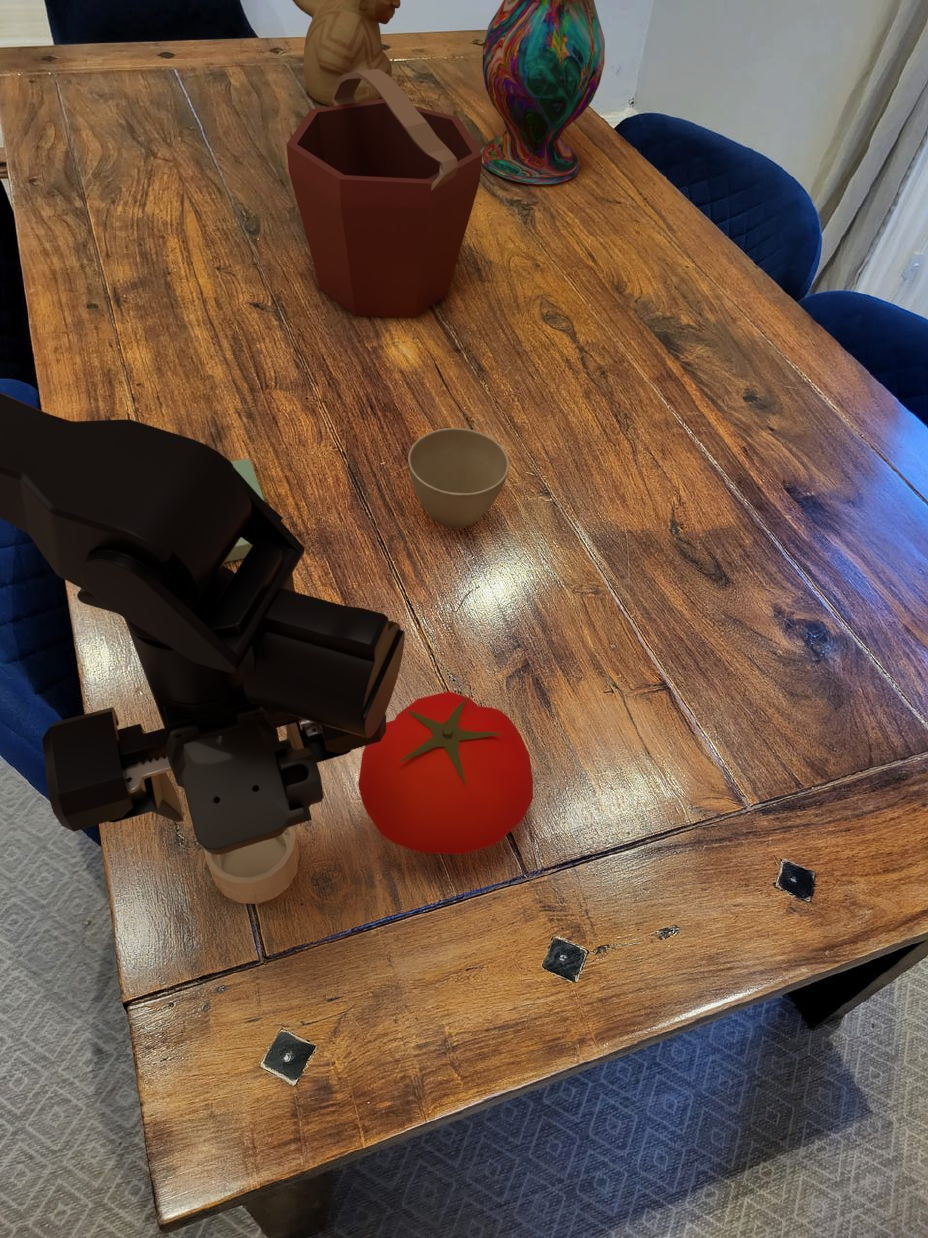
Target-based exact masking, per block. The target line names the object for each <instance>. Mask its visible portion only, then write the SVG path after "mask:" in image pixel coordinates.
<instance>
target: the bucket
mask: <svg viewBox="0 0 928 1238" xmlns="http://www.w3.org/2000/svg"><path fill="white" fill-rule="evenodd" d="M361 80H363V81H364V82H366V83H367V84H369V85H370V86H371V87H372V88H373V89H374V90H375V91H376V92H377V93H378V94H379V95H380V98H379V99H378V100H372V101H365V102H358V103H356V101H355V98H354V94H355V91H356V89H357V87H358V85H359V84H360V82H361ZM332 101H333V104H334V106H325V107H317V108H310V109H309V111H308V112H307V114H306V115H305V117H304V118H303V119H302V121H301V123H300V124H299V126H297V128H296V129H295V131H294V132H293V134H292V136H291V137H290V138H289V139H288V141H287V143H286V156H287V168H288V169H287V170H288V174H289V178H290V181H291V185H292V189H293V192H294V196H295V200H296V203H297V207H298V211H299V214H300V218H301V223H302V226H303V230H304V232H305V237H306V240H307V243H308V244H307V245H308V247H309V251H310V254H311V258H312V262H313V265H314V269H315V273H316V277H317V281H318V284H319V288H320V291H322V292H323V293H324V294H325V295H327V296H329V297H330V298H331V299H332V300H333V301H335V302H336V303H337V304H339V305H340V306H342V307H343V308H345V309H346V310H348V312H350V313H351V314H352V315H353V316H355V317H367V318H368V317H371V318H399V319H400V318H401V319H402V318H404V319H415V318H416V317H417V316H419V315H420V314H422V313H423V312H425V311H426V310H428V309H429V308H430V307H432V306H433V305H435V304H436V303H438V302H439V301H441V300H442V299H443V298H445V297H446V296H448V294H449V292H450V287H451V284H452V280H453V278H454V273H455V270H456V266H457V263H458V260H459V256H460V253H461V249H462V246H463V242H464V239H465V235H466V231H467V228H468V225H469V222H470V217H471V214H472V211H473V207H474V203H475V200H476V196H477V193H478V189H479V186H480V184H481V183H480V182H481V177H482V176H481V175H482V165H483V164H482V153H481V150H480V148H479V147H478V145H477V143H476V142H475V140H474V139H473V137H472V136H471V134H470V132H469V131H468V129H467V128H466V126H465V124H464V123H463V122H462V120H461V119H460V117H459V116H455V115H451V114H447V113H444V112H439V111H435V110H431V109H428V108H424V107H420V106H416V105H414V103H413V102H412V101H411V100H410V98H409V96H408V95H407V94H406V93H405V91H404V90H403V89H402V87H401V86H400V85H399V84H398V83H397V82H396V81H395V80H394V79H393V78H392V76H391V77H390V76H389V75H388V74H386V73H385V72H383V71H382V70H380V69H372V70H365V71H358V72H351V73H346V74H344V75H342V76H340V77H338V79H337V81H336V84H335V86H334V89H333V92H332Z"/></svg>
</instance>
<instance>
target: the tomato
mask: <svg viewBox="0 0 928 1238" xmlns="http://www.w3.org/2000/svg"><path fill="white" fill-rule="evenodd" d="M532 770H533V769H532V764H531V756H530V753H529V751H528V748H527V746H526V743H525V741H524V739H523V737H522V734H521V733H520V731H519V730H518V729H517V726H515V724H514V723H513V722H512V720H511V718H510V717H509V716H507V715H506V714H505V713H504V712H503V711H502V710H501V709H497V708H495V707H488V706H482V705H481V706H480V705H478V704H477V703H476V702H475V701H474V700H473V699H471V698H470V697H468V696H466V695H462V694H459V693H456V692H452V691H450V690H449V691H444V692H441V693H436V694H432V695H428V696H424V697H419V698H416V699H415V700H414V701H413V702H411V704H409V705H407V707H405V708H404V709H403V710H401V711H400V712H399V713H397V714H396V716H395V718H394V719H393V720H390V721H388V722H387V721H386V733H385V734H384V736H383V738H382V739H381V741H380V742H377V743H373V744H370V745H367V746H364V748H363V751H362V754H361V760H360V770H359V775H358V782H357V787H358V790H359V794H360V798H361V802H362V805H363V808H364V809H365V811H366V813H367V815H368V816H369V818H370V820H371V821H372V823H373V824H374V826H375V828H376V829H377V830H378V832H379V833H380V835H381V836H382V837H383V838H385V839H386V840H388V841H390V842H391V843H393V844H395V845H398V846H400V847H403V848H404V849H405V848H406V849H408V850H412V851H415V852H419V853H420V854H433V855H435V854H437V855H438V854H439V855H465V854H468V853H472V852H475V851H479V850H481V849H485V848H489V847H492V846H495V845H497V843H499V842H500V841H501V840H502V839H503V838H504V837H506V836H507V835H508V834H509V833H510V832H512V831H513V830H514V829H515V828H516V827H517V826H519V825H520V824H521V823H522V821H523V820H524V818H525V817H526V816H527V813H528V811H529V808H530V806H531V804H532V802H533V799H534V778H533V771H532Z"/></svg>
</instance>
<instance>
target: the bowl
mask: <svg viewBox="0 0 928 1238" xmlns="http://www.w3.org/2000/svg"><path fill="white" fill-rule="evenodd" d="M203 852H204V856H205V860H206V861H205V862H206V864H207V867H208V869H209V872H210V874H211V878H212V879H213V882H214V885H216V887H217V888H218V889H219V891H220V892H221V893H222V894H223V895H224V896H225V897H226V898H228V899H230V900H231V901H234V902H236V903H238V904H239V903H240V904H252V905H257V904H261V903H265V902H267V901H270V900H273V899H275V898H276V897H278V896H279V895H281V894H282V893H283V892H284V891H285V890H286V889H288V888H289V887H290V886H291V884H292V882H293V880H294V878H295V877H296V875H297V873H298V870H299V863H300V850H299V844H298V837H297V833H296V829H295V826H291V827H288V828H287V829H286V830H285V832H284V833H283V834H281V835H280V836H278V837H275V838H272V839H269V840H265V841H262V842H259V843H255V844H252V845H249V846H246V847H243V848H240V849H236V850H234V851H231V852H228V853H225V854H220V855H215V854H211V853H209V852H207V851H206V850H205V849H204V848H203Z"/></svg>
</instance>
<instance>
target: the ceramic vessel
mask: <svg viewBox="0 0 928 1238" xmlns="http://www.w3.org/2000/svg"><path fill="white" fill-rule="evenodd" d="M291 1H292V2H293V3H294V5H295V6H296V7H297V8H298V9H299V10H300V11H302V12H303V13H304V14H306V15H307V16H308V17H310V18H311V22H310V24H309V26H308V28H307V31H306V35H305V39H304V47H303V75H304V81H305V82H304V83H305V85H306V90H307V92H308V94H309V95H310V97H311V98H312V99H313V100H314V101H316V102H317V103H320V104H322V105H325V106H327V107H330V106H334V104H333V101H332V92H333V89H334V86H335V84H336V81H337V79H338V77H340V76H342V75H344V74H346V73H351V72H358V71H365V70H372V69H380V70H382V71H383V72H385V73H386V74H388V75H389V76H390V77H391V78H392V76H393V68H392V62H391V60H390V58H389V57H388V56H387V54H386V53H385V52H384V50H383V43H382V33H381V26H380V24H382V25H388V23H389V22H390V21H391V19H393V18H394V15H395V14H396V9H399V8H400V7H401V4H402V3H401V0H291ZM354 98H355V101H356V103H358V102H365V101H372V100H379V99H381V97H380V95H379V94H378V93H377V92H376V91H375V90H374V89H373V88H372V87H371V86H370V85H369V84H367V83H366V82H364V81H363V80H361V82H360V84H359V85H358V87H357V89H356V91H355V94H354Z"/></svg>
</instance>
